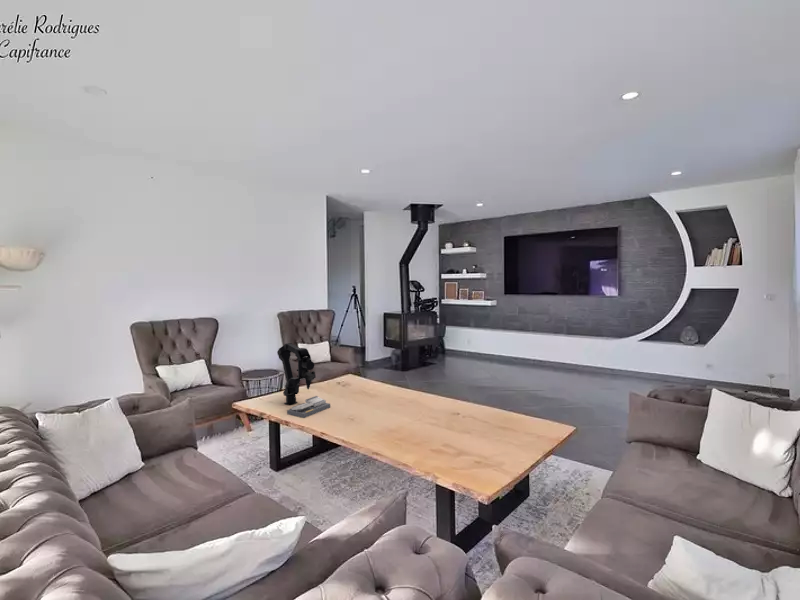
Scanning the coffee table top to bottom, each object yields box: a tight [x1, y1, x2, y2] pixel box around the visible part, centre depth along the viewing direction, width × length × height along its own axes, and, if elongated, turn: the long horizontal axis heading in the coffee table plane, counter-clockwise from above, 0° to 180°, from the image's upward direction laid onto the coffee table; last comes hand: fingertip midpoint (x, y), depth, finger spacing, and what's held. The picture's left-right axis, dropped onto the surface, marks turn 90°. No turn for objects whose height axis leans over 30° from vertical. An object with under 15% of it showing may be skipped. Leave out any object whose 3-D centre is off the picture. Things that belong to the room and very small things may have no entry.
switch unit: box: [286, 402, 331, 419], centre depth 264 cm, size 15×24×4 cm, turn 148°
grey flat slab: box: [291, 402, 313, 410], centre depth 259 cm, size 9×10×2 cm
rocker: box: [304, 395, 327, 407], centre depth 269 cm, size 9×10×2 cm
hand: (303, 390), depth 268 cm, fingers open, 9 cm apart
